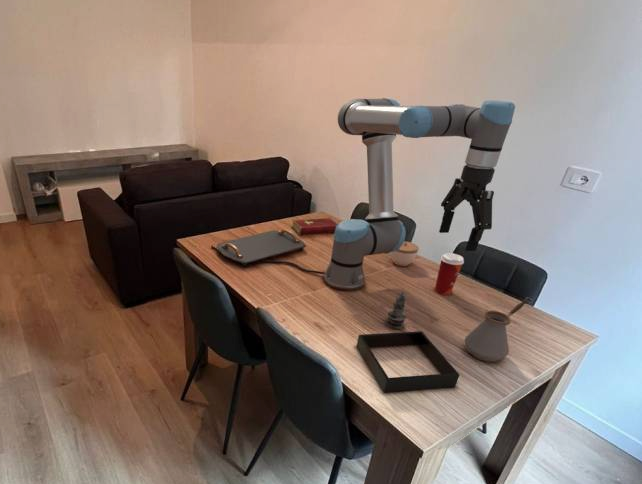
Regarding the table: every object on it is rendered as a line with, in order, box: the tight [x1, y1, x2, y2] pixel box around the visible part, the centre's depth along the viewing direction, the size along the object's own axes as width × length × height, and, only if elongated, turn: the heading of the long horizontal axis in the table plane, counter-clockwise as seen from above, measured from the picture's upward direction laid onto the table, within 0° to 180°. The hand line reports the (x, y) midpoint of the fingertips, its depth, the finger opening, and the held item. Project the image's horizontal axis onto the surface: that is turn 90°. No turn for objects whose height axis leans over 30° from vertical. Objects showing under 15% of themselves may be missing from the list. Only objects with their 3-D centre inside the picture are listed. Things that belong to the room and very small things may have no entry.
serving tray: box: [216, 228, 307, 268], centre depth 178 cm, size 39×23×6 cm, turn 125°
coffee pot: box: [464, 296, 534, 363], centre depth 117 cm, size 21×12×15 cm, turn 121°
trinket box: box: [390, 240, 420, 267], centre depth 170 cm, size 11×11×9 cm
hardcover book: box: [291, 217, 339, 237], centre depth 202 cm, size 12×21×4 cm, turn 103°
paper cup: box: [434, 252, 465, 296], centre depth 148 cm, size 8×8×14 cm
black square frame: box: [356, 330, 460, 394], centre depth 112 cm, size 20×20×4 cm
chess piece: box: [385, 292, 407, 330], centre depth 128 cm, size 6×6×12 cm
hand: (456, 241), depth 118 cm, fingers open, 13 cm apart
